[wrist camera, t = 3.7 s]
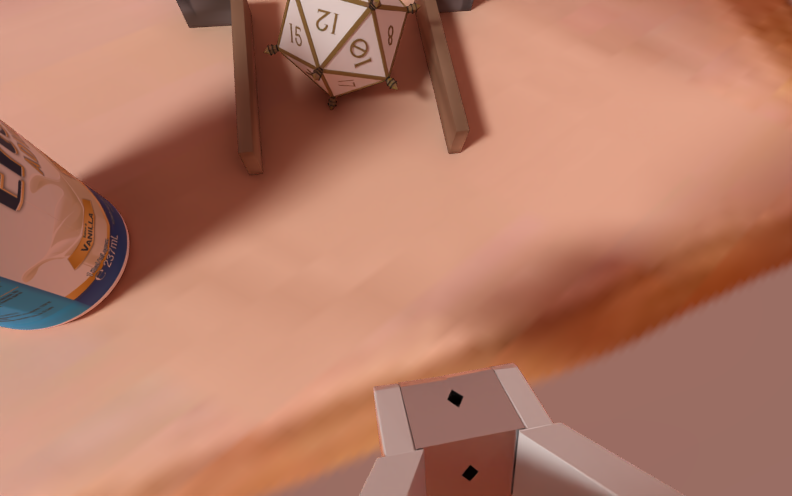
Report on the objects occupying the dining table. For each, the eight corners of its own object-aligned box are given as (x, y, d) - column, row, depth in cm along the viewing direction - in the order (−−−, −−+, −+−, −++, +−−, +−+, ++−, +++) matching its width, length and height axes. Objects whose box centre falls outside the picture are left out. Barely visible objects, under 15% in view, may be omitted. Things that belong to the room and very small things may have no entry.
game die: (343, 89, 33) (366, -65, 28) (419, 130, 29) (465, -42, 23) (236, 89, 27) (239, -106, 22) (312, 142, 23) (339, -86, 17)
